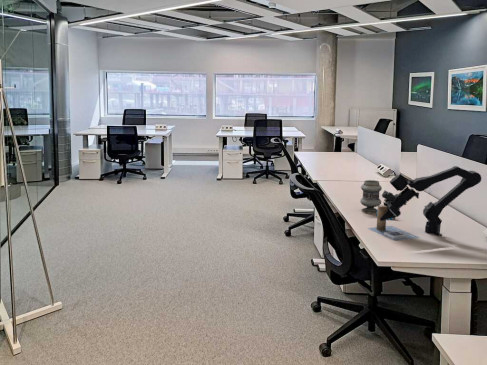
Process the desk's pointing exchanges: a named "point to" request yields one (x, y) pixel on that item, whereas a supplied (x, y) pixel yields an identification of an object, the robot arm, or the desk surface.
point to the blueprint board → (391, 228)
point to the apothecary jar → (370, 195)
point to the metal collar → (390, 234)
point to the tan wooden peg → (381, 211)
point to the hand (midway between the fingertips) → (379, 217)
